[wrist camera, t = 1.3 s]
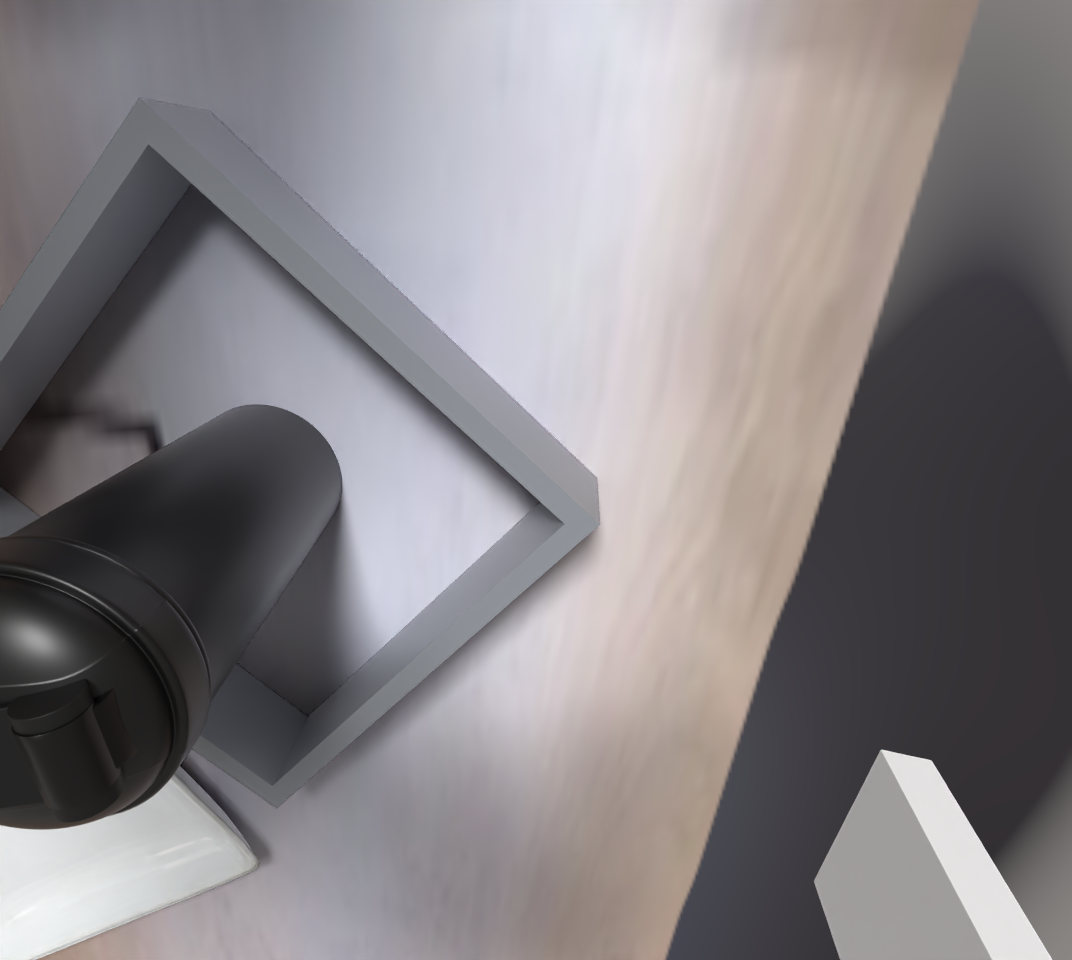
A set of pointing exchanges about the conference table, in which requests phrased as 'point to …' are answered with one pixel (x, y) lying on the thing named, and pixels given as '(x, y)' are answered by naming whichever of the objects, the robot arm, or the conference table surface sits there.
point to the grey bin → (377, 318)
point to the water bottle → (147, 609)
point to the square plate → (114, 869)
